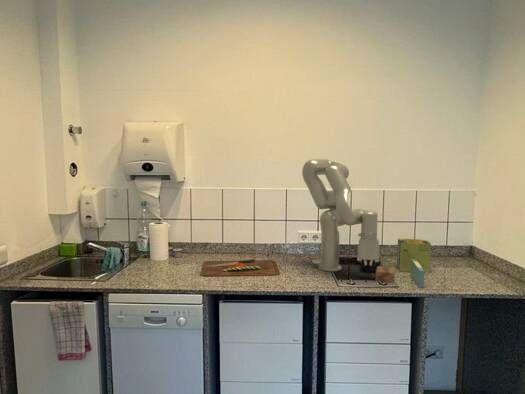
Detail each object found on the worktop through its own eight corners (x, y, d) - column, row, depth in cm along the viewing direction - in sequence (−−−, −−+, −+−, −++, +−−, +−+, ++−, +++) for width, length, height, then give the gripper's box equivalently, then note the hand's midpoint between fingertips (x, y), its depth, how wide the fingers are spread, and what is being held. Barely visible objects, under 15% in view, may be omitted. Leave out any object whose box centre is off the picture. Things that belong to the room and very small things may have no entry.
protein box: (429, 273, 207) (431, 243, 205) (398, 271, 210) (400, 242, 208) (425, 267, 217) (427, 239, 215) (396, 265, 220) (397, 238, 218)
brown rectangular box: (375, 281, 192) (375, 271, 192) (377, 275, 202) (377, 266, 201) (392, 283, 190) (393, 273, 189) (394, 277, 199) (394, 267, 198)
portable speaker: (380, 274, 204) (380, 255, 203) (360, 272, 207) (360, 253, 206) (381, 261, 227) (382, 244, 226) (363, 260, 231) (364, 243, 229)
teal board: (419, 287, 183) (420, 270, 183) (410, 274, 203) (411, 259, 202) (423, 287, 183) (424, 270, 182) (414, 274, 203) (415, 259, 202)
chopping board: (194, 278, 196) (194, 272, 196) (199, 263, 223) (199, 257, 222) (285, 276, 200) (285, 270, 199) (278, 262, 226) (278, 257, 226)
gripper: (353, 237, 192) (352, 274, 194) (385, 238, 190) (384, 275, 192) (352, 234, 200) (351, 269, 202) (383, 235, 197) (382, 271, 199)
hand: (367, 272), depth 197 cm, fingers closed
